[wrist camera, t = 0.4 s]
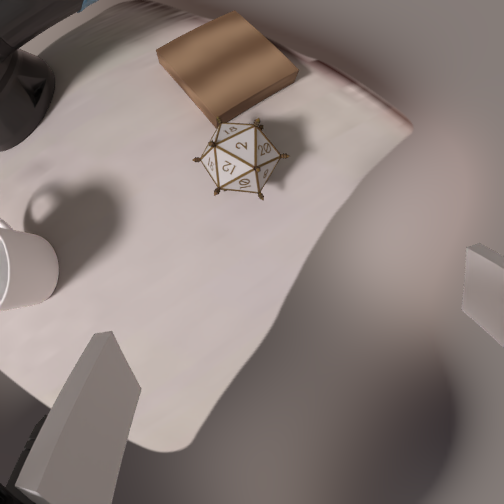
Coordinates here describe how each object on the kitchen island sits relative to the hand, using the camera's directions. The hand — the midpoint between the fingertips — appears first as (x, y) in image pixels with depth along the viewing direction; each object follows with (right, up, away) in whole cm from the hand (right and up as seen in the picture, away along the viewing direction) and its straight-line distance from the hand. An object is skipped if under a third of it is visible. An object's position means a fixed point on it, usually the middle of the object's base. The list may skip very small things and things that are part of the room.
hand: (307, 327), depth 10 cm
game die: (-3, +12, +25) cm, 28 cm away
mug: (-30, +2, +23) cm, 37 cm away
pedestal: (-5, +26, +26) cm, 37 cm away
